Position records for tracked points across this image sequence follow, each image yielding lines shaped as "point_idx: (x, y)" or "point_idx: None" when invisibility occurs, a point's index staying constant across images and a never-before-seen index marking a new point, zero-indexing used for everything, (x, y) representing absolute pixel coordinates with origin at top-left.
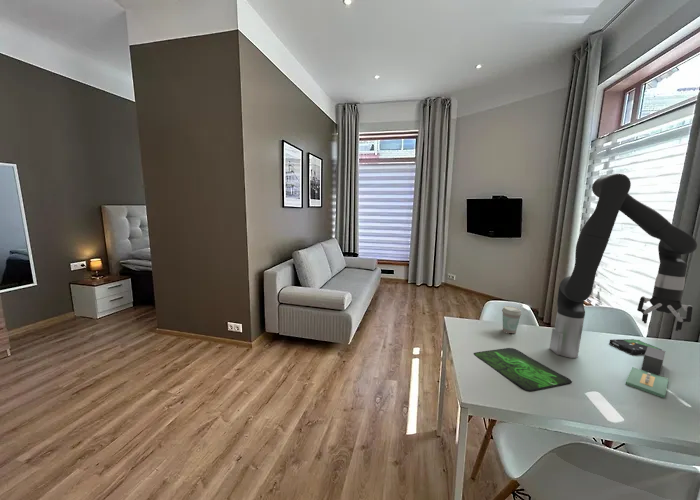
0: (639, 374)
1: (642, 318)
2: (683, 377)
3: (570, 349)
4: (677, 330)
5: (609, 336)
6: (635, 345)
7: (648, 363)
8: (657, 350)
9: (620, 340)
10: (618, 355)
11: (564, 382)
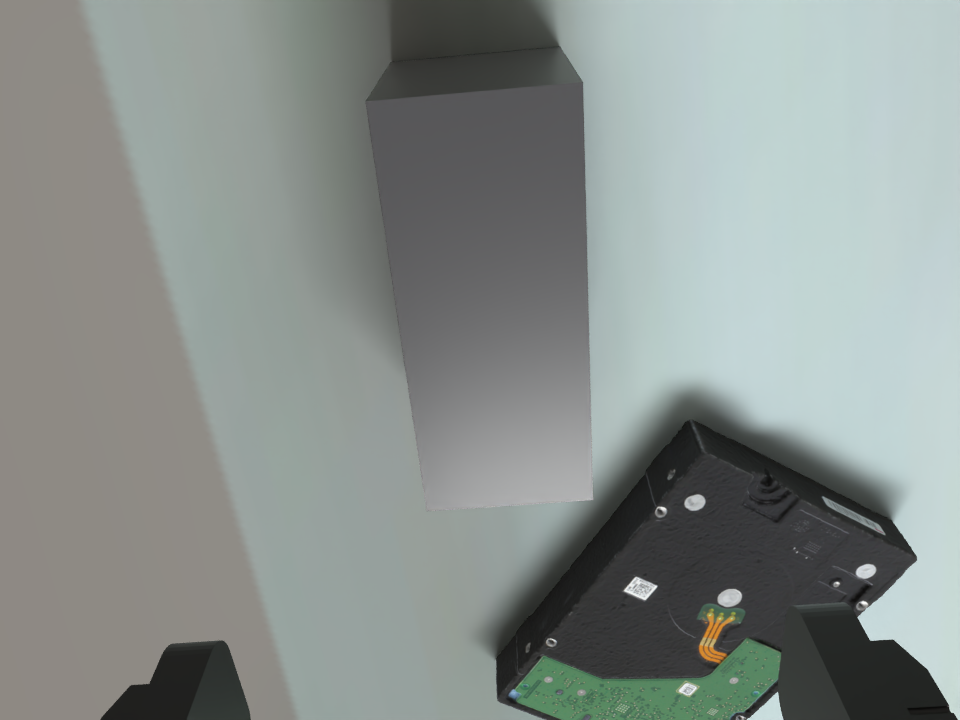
0: None
1: (947, 712)
2: (237, 247)
3: None
4: (175, 644)
5: None
6: (690, 607)
7: (511, 67)
8: (490, 452)
9: None
10: (801, 259)
11: None
